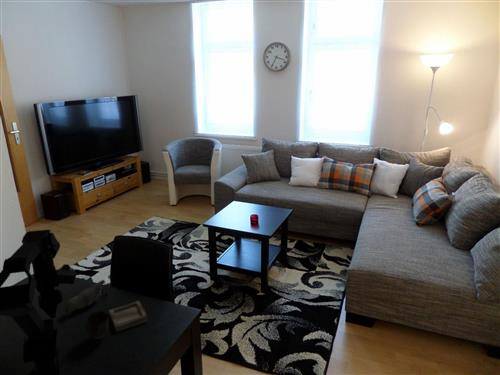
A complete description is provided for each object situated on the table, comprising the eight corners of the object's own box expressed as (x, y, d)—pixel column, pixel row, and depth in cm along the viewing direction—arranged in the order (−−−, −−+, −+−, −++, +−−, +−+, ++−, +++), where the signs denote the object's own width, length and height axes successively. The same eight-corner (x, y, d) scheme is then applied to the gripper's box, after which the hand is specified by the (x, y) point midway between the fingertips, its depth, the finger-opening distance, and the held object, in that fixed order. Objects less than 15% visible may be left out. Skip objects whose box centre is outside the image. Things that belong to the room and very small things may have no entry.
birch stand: (147, 320, 124) (147, 316, 124) (116, 332, 118) (115, 327, 118) (139, 304, 133) (138, 300, 132) (109, 314, 127) (109, 310, 127)
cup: (115, 334, 117) (113, 315, 115) (96, 348, 111) (93, 327, 109) (101, 326, 121) (99, 307, 118) (82, 339, 115) (79, 319, 112)
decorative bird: (63, 313, 128) (60, 296, 125) (102, 293, 140) (100, 277, 138) (70, 319, 125) (67, 302, 122) (110, 298, 137) (108, 282, 135)
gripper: (77, 272, 104) (84, 316, 108) (67, 250, 118) (73, 289, 122) (35, 284, 97) (43, 330, 102) (29, 258, 112) (37, 299, 116)
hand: (51, 310), depth 111 cm, fingers open, 9 cm apart
